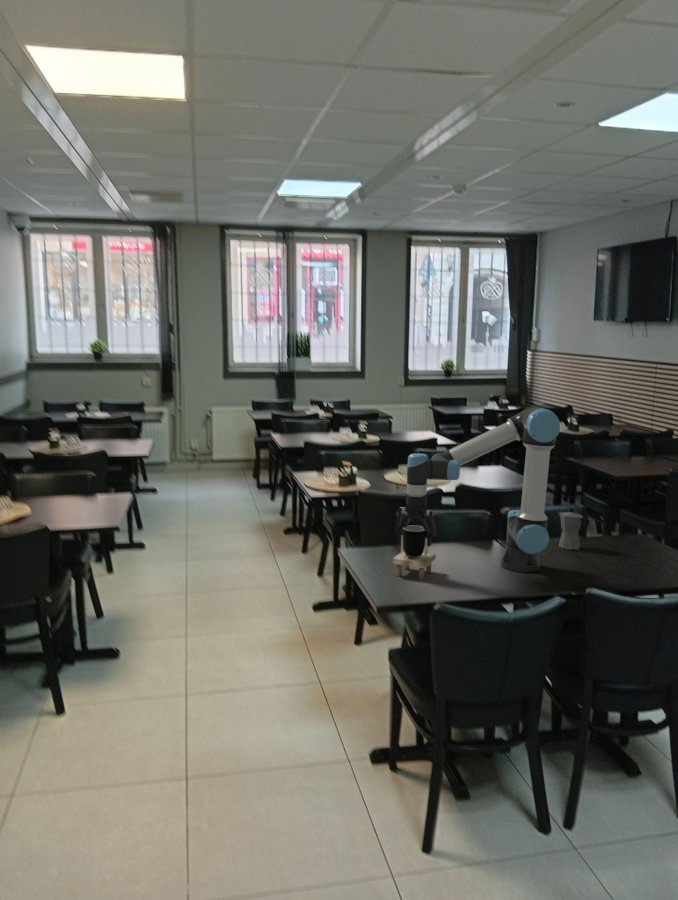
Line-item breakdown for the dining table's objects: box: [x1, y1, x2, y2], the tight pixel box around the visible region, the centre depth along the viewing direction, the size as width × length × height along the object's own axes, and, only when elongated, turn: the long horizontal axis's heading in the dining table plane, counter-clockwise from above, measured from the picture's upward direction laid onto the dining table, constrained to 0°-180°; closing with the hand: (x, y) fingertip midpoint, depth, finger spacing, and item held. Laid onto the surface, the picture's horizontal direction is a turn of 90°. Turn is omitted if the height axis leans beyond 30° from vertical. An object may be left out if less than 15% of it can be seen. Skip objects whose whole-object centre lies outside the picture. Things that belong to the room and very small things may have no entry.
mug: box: [403, 524, 427, 556], centre depth 270 cm, size 12×9×10 cm
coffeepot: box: [557, 507, 590, 550], centre depth 309 cm, size 15×9×18 cm, turn 37°
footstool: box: [392, 551, 437, 581], centre depth 271 cm, size 13×13×7 cm
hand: (414, 552), depth 270 cm, fingers closed on mug, 9 cm apart
